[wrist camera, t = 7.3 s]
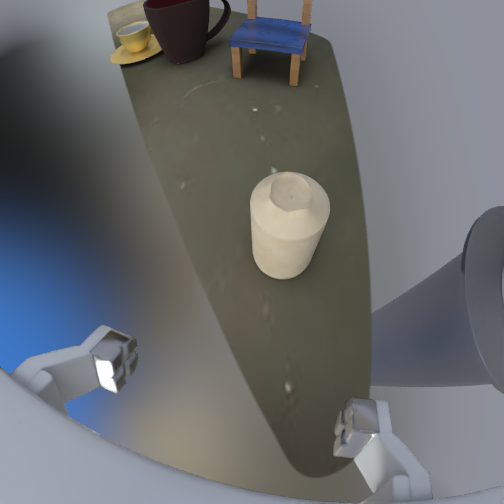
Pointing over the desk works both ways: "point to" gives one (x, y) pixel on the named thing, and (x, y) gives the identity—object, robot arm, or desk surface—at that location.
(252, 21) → the chair
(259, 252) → the candle
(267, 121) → the desk surface
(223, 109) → the desk surface
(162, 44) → the mug
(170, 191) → the desk surface
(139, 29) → the cup
